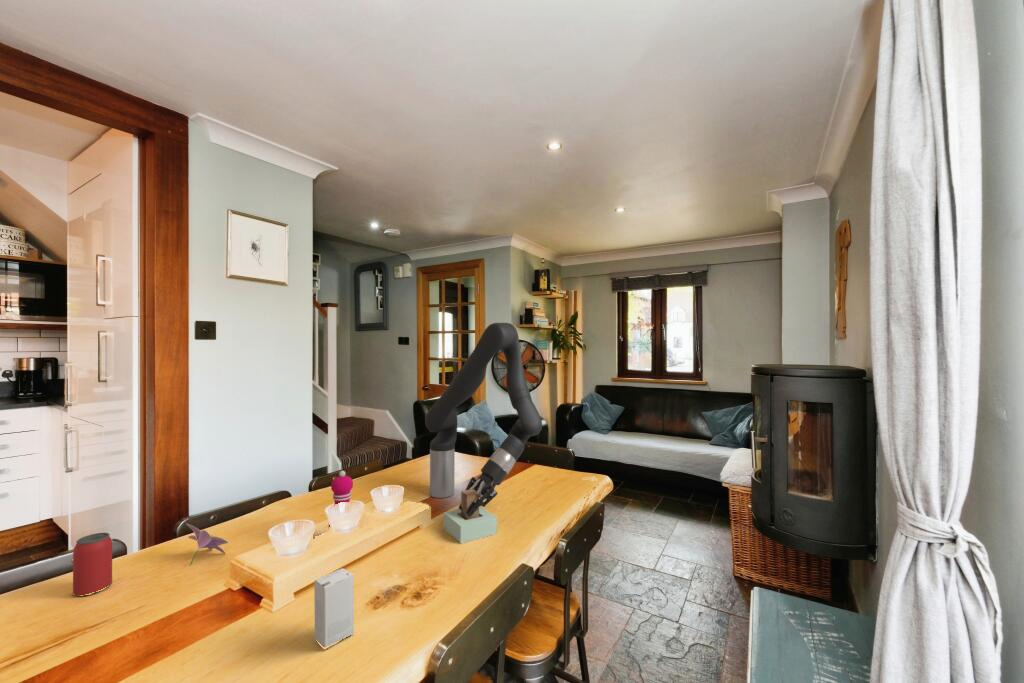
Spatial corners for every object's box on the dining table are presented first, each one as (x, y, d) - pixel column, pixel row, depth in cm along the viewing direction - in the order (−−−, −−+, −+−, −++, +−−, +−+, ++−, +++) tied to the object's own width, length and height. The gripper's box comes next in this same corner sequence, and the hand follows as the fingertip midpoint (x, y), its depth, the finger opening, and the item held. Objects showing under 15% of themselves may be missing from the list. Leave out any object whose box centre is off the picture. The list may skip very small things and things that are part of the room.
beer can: (118, 584, 102) (119, 533, 102) (83, 600, 96) (84, 546, 96) (101, 579, 104) (101, 529, 104) (65, 594, 98) (66, 541, 98)
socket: (443, 528, 133) (443, 512, 133) (478, 520, 140) (478, 504, 140) (460, 543, 123) (460, 526, 123) (496, 533, 130) (497, 517, 130)
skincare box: (343, 626, 87) (343, 565, 87) (354, 635, 84) (355, 573, 84) (312, 642, 82) (313, 578, 83) (324, 653, 80) (324, 587, 80)
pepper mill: (359, 534, 129) (359, 467, 129) (347, 545, 122) (348, 474, 122) (336, 533, 130) (336, 466, 130) (323, 544, 123) (323, 474, 123)
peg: (461, 524, 132) (461, 491, 132) (472, 521, 134) (472, 488, 134) (467, 528, 129) (467, 495, 129) (479, 525, 131) (478, 492, 131)
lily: (228, 567, 112) (241, 527, 117) (175, 564, 105) (192, 521, 110) (213, 567, 119) (227, 530, 124) (163, 564, 112) (179, 524, 117)
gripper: (480, 454, 142) (446, 498, 135) (503, 464, 130) (466, 513, 123) (494, 467, 144) (461, 511, 138) (517, 478, 132) (483, 527, 126)
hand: (464, 512), depth 130 cm, fingers closed on peg, 4 cm apart
